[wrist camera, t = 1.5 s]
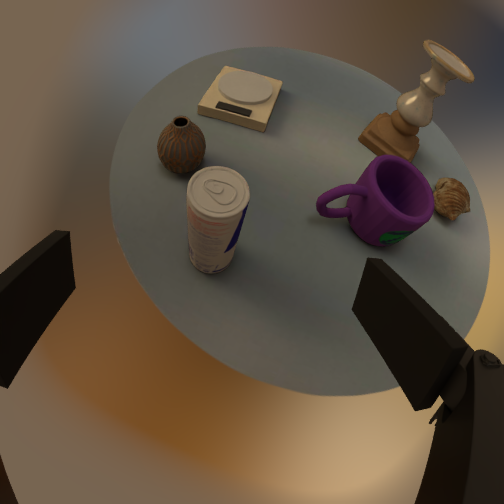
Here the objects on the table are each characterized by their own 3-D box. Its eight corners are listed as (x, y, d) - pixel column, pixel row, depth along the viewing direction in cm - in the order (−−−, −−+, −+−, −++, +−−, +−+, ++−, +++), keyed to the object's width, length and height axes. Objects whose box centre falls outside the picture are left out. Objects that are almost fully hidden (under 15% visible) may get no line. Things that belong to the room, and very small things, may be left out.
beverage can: (234, 273, 39) (254, 217, 26) (190, 275, 38) (186, 218, 25) (231, 234, 41) (248, 164, 28) (189, 235, 40) (186, 164, 27)
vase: (150, 164, 44) (144, 123, 36) (182, 139, 46) (181, 98, 38) (182, 188, 43) (180, 148, 35) (213, 161, 45) (218, 120, 37)
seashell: (457, 209, 53) (433, 180, 53) (480, 193, 47) (455, 162, 47) (447, 235, 49) (421, 203, 50) (473, 219, 43) (446, 184, 43)
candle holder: (401, 175, 52) (475, 89, 30) (356, 139, 53) (416, 42, 31) (416, 149, 56) (478, 73, 34) (376, 117, 57) (428, 34, 36)
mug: (388, 190, 50) (419, 157, 40) (408, 250, 45) (446, 223, 36) (297, 187, 46) (319, 145, 37) (312, 256, 42) (342, 223, 33)
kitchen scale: (197, 114, 49) (198, 101, 46) (223, 74, 55) (225, 62, 52) (263, 132, 50) (267, 120, 47) (280, 89, 55) (283, 78, 52)
